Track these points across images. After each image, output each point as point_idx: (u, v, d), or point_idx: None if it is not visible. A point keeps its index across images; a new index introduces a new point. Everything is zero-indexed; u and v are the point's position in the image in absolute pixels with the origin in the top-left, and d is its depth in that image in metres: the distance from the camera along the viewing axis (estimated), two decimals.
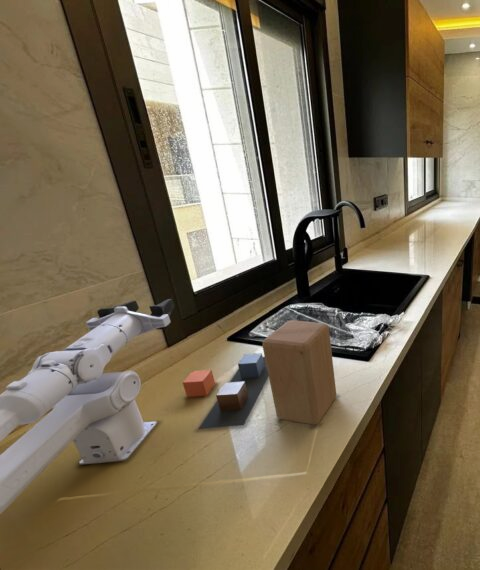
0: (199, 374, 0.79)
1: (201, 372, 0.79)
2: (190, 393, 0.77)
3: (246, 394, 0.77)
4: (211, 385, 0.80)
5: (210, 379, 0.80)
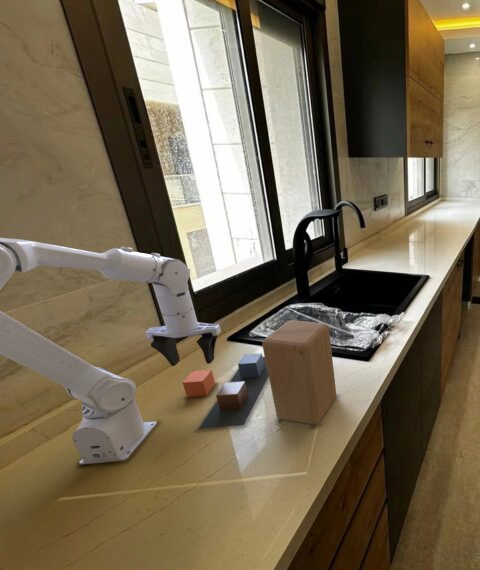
0: (199, 374, 0.79)
1: (201, 372, 0.79)
2: (190, 393, 0.77)
3: (246, 394, 0.77)
4: (211, 385, 0.80)
5: (210, 379, 0.80)
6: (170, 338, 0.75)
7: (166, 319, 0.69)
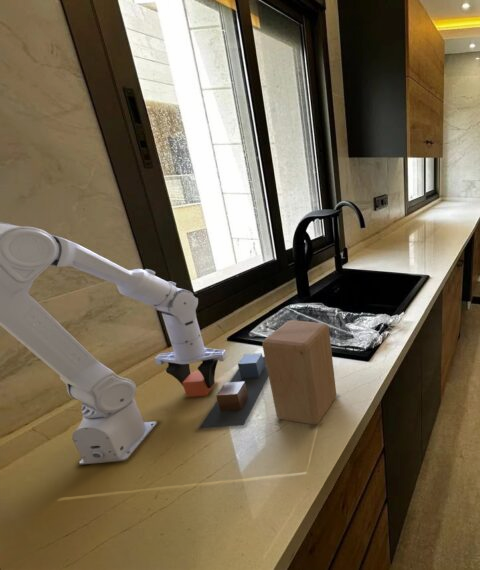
0: (199, 374, 0.79)
1: None
2: (190, 393, 0.77)
3: (246, 394, 0.77)
4: None
5: None
6: None
7: (175, 347, 0.72)
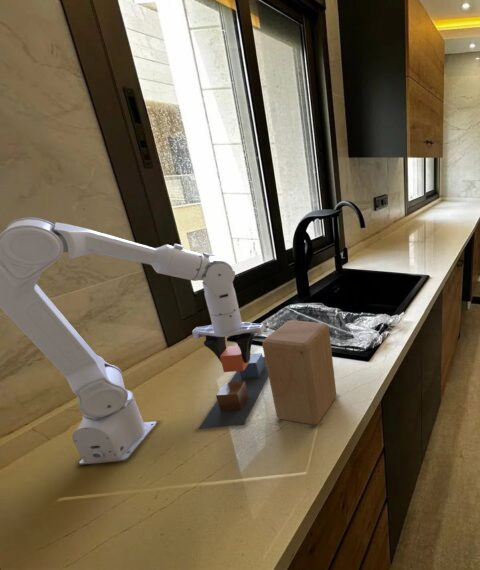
0: (235, 349, 0.77)
1: (237, 347, 0.78)
2: (227, 367, 0.76)
3: (246, 394, 0.77)
4: None
5: None
6: (221, 337, 0.76)
7: (214, 319, 0.71)
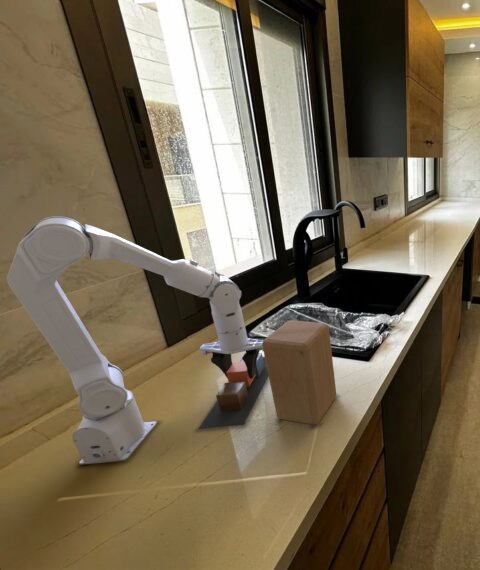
0: (241, 364, 0.79)
1: (243, 362, 0.80)
2: None
3: (246, 394, 0.77)
4: None
5: None
6: (227, 353, 0.78)
7: (221, 336, 0.72)
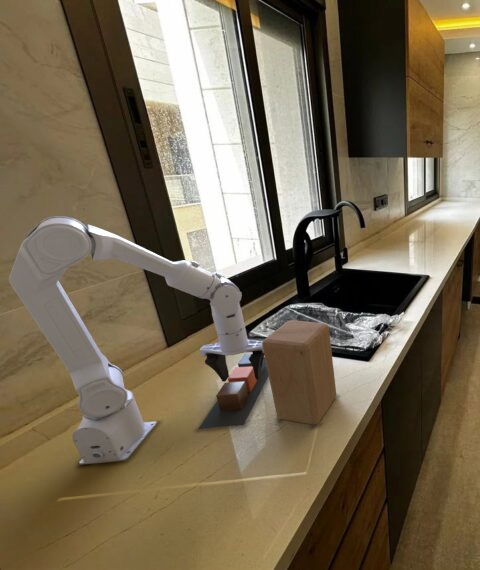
0: (242, 370, 0.80)
1: (244, 368, 0.80)
2: None
3: (246, 394, 0.77)
4: (254, 381, 0.81)
5: (253, 375, 0.81)
6: (221, 355, 0.78)
7: (221, 338, 0.72)
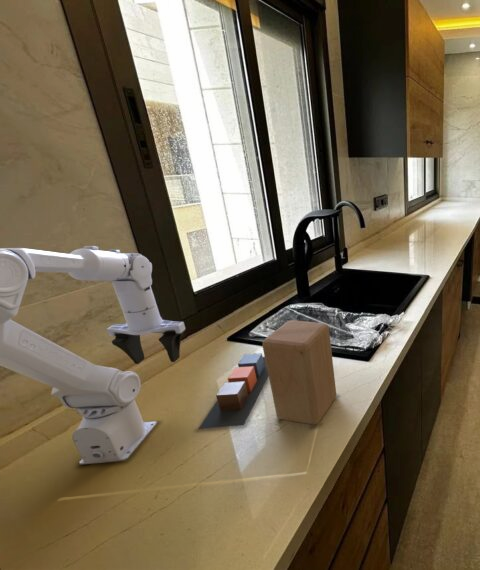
0: (242, 370, 0.80)
1: (244, 368, 0.80)
2: None
3: (246, 394, 0.77)
4: (254, 381, 0.81)
5: (253, 375, 0.81)
6: (133, 335, 0.73)
7: (126, 316, 0.68)
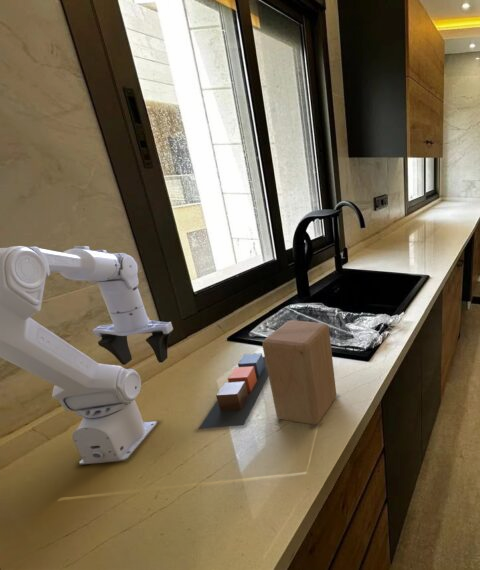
0: (242, 370, 0.80)
1: (244, 368, 0.80)
2: None
3: (246, 394, 0.77)
4: (254, 381, 0.81)
5: (253, 375, 0.81)
6: (120, 336, 0.73)
7: (112, 317, 0.68)
